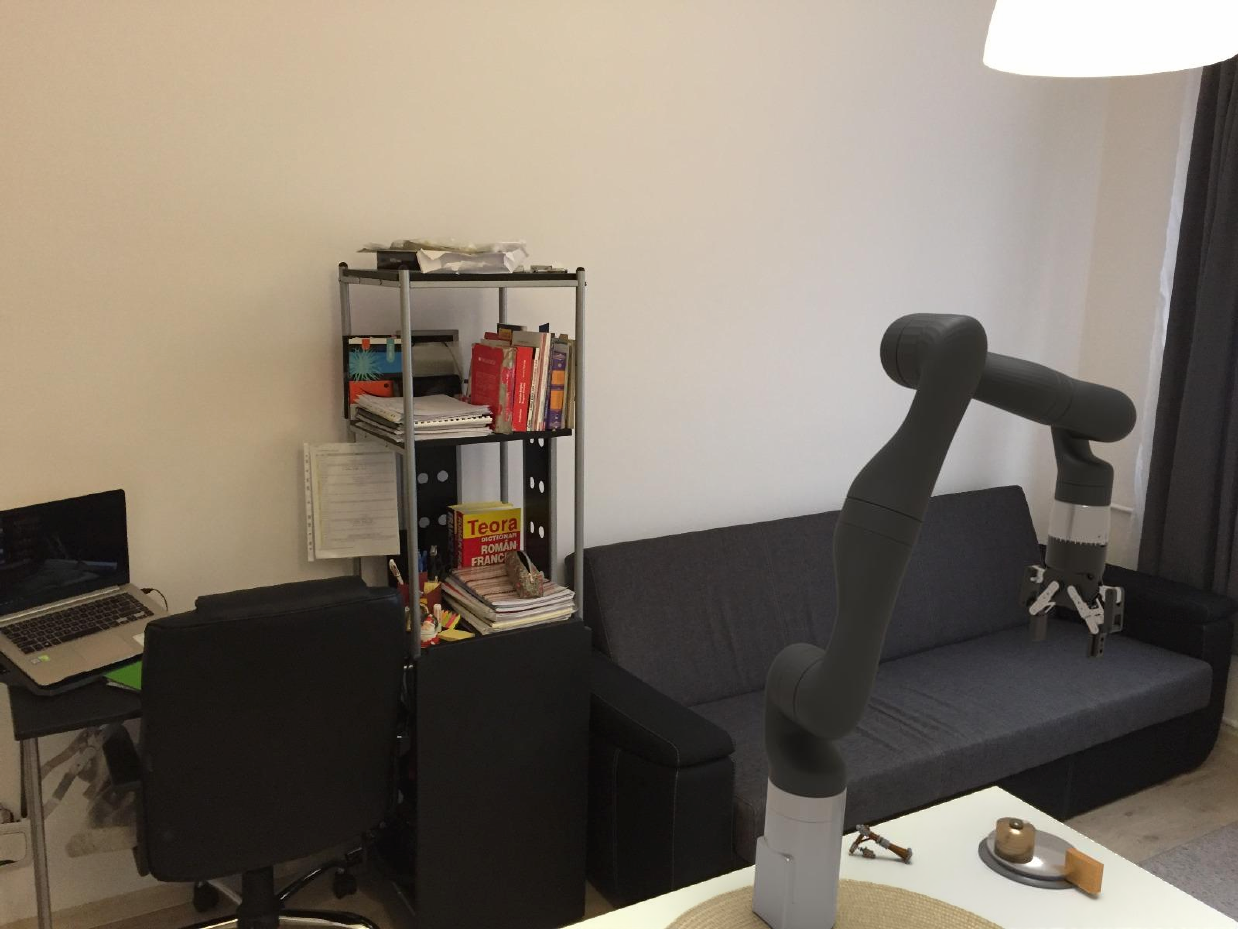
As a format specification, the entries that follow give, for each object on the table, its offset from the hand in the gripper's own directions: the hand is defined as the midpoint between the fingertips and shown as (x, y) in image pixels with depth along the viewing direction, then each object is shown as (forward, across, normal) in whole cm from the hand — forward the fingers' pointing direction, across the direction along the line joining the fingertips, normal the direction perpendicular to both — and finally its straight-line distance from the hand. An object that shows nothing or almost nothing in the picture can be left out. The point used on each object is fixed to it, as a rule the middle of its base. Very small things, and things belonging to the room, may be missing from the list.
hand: (1064, 649), depth 144 cm
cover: (+26, +2, -10) cm, 28 cm away
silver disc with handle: (+28, +5, -6) cm, 29 cm away
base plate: (+28, +3, -6) cm, 29 cm away
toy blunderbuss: (+29, -7, -24) cm, 38 cm away
